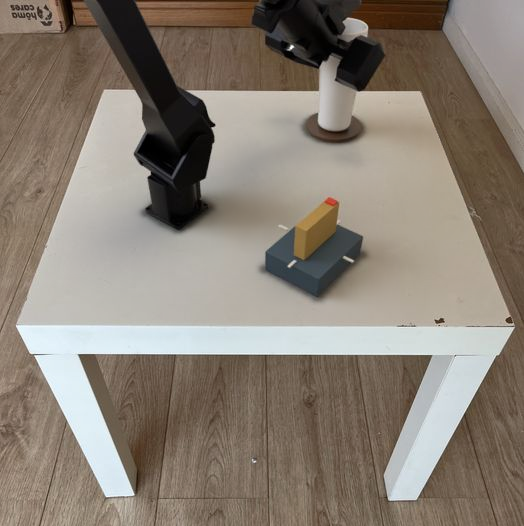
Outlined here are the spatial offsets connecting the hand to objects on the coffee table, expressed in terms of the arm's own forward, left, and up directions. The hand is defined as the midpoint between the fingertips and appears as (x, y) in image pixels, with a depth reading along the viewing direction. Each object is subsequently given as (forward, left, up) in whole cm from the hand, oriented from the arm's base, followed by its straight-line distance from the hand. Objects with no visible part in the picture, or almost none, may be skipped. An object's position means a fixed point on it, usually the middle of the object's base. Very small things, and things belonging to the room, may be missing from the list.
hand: (344, 75), depth 90 cm
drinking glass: (-2, 0, -8) cm, 8 cm away
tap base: (-30, -16, -8) cm, 35 cm away
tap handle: (-30, -16, -5) cm, 34 cm away
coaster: (-1, 0, -8) cm, 8 cm away
